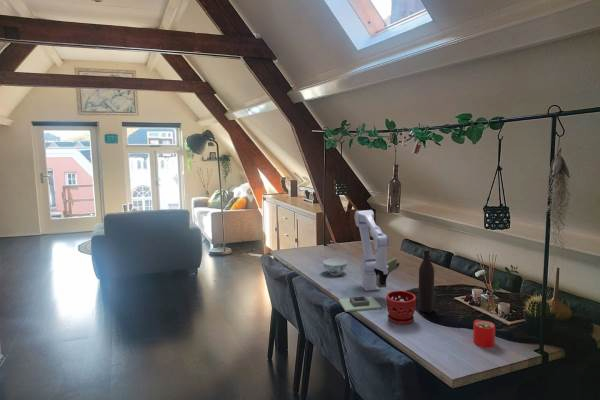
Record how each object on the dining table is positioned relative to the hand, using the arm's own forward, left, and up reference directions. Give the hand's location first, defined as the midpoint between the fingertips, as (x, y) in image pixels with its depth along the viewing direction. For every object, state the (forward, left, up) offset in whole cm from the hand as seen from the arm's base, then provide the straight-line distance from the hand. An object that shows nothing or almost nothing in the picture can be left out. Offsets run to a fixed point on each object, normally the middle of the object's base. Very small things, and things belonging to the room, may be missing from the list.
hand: (381, 283), depth 218 cm
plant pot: (+29, -1, -8) cm, 30 cm away
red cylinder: (+54, +23, -8) cm, 59 cm away
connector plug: (0, 0, -2) cm, 2 cm away
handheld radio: (-44, +22, -8) cm, 50 cm away
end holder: (+7, -14, -8) cm, 17 cm away
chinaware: (-45, -14, -8) cm, 48 cm away
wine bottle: (+21, +15, -8) cm, 27 cm away
